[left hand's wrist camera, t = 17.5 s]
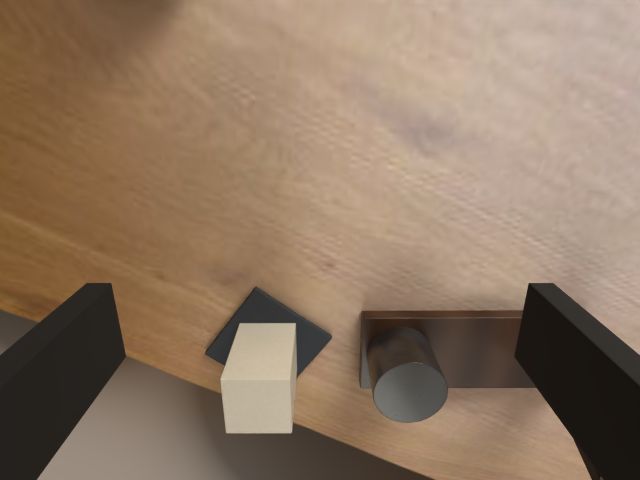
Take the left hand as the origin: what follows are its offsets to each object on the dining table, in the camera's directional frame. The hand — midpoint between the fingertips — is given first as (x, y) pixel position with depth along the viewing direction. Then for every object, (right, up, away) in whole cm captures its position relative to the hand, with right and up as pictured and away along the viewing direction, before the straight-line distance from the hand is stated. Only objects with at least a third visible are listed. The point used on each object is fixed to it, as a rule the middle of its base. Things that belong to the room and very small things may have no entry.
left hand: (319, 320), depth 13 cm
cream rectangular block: (-6, -9, +31) cm, 33 cm away
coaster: (-6, -9, +32) cm, 33 cm away
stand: (+16, -9, +32) cm, 37 cm away
